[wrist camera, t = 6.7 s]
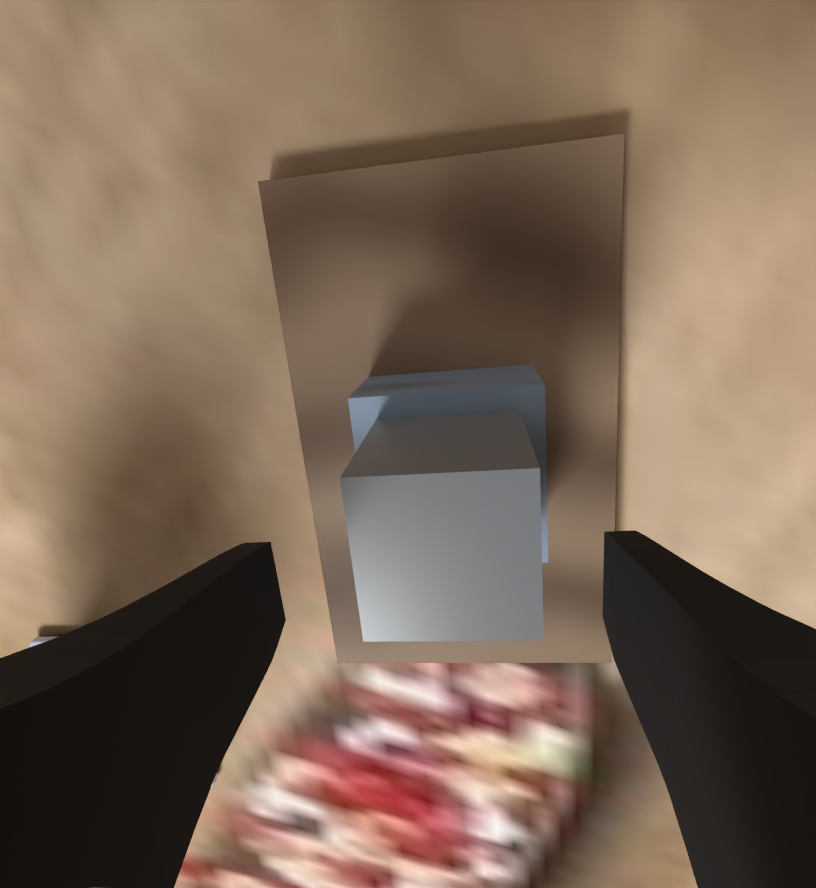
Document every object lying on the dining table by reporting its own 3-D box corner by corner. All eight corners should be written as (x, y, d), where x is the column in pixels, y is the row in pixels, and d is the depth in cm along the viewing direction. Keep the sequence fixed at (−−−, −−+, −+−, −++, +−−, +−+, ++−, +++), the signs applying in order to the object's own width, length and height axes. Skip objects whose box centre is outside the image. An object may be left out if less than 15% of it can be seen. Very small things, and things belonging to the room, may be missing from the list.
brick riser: (605, 646, 23) (636, 730, 19) (342, 648, 25) (316, 725, 21) (616, 140, 17) (662, 99, 13) (268, 186, 19) (210, 161, 15)
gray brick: (523, 539, 17) (543, 640, 13) (391, 543, 18) (363, 641, 13) (519, 409, 16) (539, 467, 11) (376, 418, 17) (339, 477, 12)
